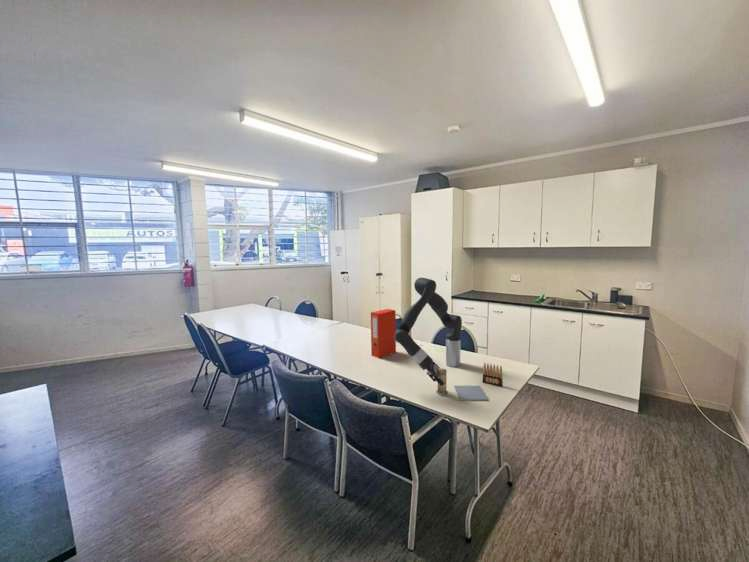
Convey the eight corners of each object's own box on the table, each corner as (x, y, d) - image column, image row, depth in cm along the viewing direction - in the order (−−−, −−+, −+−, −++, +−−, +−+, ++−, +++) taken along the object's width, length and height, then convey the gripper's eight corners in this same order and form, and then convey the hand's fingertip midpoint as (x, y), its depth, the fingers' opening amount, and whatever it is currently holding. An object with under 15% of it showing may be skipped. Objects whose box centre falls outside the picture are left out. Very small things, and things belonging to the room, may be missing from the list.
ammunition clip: (482, 382, 182) (482, 362, 181) (483, 381, 183) (483, 361, 182) (501, 387, 176) (502, 366, 174) (502, 385, 177) (503, 365, 176)
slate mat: (454, 386, 178) (454, 385, 178) (479, 386, 177) (479, 385, 177) (460, 400, 162) (460, 399, 162) (488, 400, 161) (488, 399, 161)
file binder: (396, 352, 236) (395, 310, 232) (379, 358, 224) (378, 314, 221) (388, 350, 242) (387, 308, 238) (371, 355, 230) (370, 312, 227)
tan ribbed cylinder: (435, 390, 173) (435, 367, 172) (446, 390, 173) (446, 367, 171) (437, 396, 167) (437, 372, 166) (448, 396, 167) (448, 372, 165)
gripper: (425, 359, 163) (447, 382, 161) (429, 350, 177) (450, 372, 175) (414, 368, 166) (437, 391, 163) (419, 358, 179) (440, 380, 177)
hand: (443, 381), depth 169 cm, fingers open, 8 cm apart
